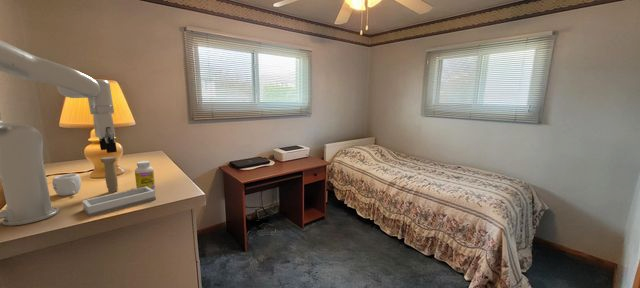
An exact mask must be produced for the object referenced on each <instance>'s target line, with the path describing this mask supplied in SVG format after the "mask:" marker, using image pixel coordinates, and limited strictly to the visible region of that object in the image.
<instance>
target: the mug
mask: <svg viewBox="0 0 640 288" xmlns="http://www.w3.org/2000/svg"><path fill="white" fill-rule="evenodd" d="M51 183H52V188H53V190H54V191H55V194H57V195H58V196H61V197H65V196H67V197H68V196H72V195H77V193H79V192H80V190H81V187H82V179H81V176H80V175H79V174H78V173H66V174H60V175H57V176H54V177H53V178H52V182H51Z"/></svg>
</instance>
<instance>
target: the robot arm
mask: <svg viewBox="0 0 640 288" xmlns="http://www.w3.org/2000/svg"><path fill="white" fill-rule="evenodd" d="M0 72H2V73H5V74H8V75H10V76H13V77H15V78H18V79H22V80H26V81H31V82H37V83H45V84H50V85H54V86H56V89H57V92H58V93H59V94H61V96H64V97H66V98H70V99H87V100H88V101H87V102H88V106H89V112H90V115H93V116H92V117H93V129H94V135H95V137H96V138H98V139H99V148H100V150H101V151H106V153H107V154H111V153H117V152H118V150H117V143H116V140H115V136H116V131H115V124H114V120H113V116H112V114H115V108H114V104H113V96H112V89H111V83H110V81H109V80H106V79H101V78H100V79H96V78H92V77H91V76H89V75H87V74H85V73H82V72H80V71H79V70H76V69H74V68H72V67H69V66H66V65H63V64H61V63H57V62H54V61H51V60H49V59H45V58H42V57H39V56H37V55H34V54H31V53H29V52H27V51H25V50H22V49H21V48H19V47H16V46H15V45H12V44H9V43H7V42H5V41H3V40H1V39H0ZM43 138H44V137H43V136H42V133H41V132H40V131H39V130H38V129H37V128H36V127H34V126H32V125H29V124H26V123H17V122H4V121H3V120H2V115H1V113H0V179H1V185H2V188H3V194H4V199H5V203H6V206H5V209H2V210H0V220H1V219H2V221H1V223H2V225H4V226H11V227H12V226H21V225H27V224H31V223H35V222H36V223H37V222H40V221H43V220H46V219H49V218H52V217H53V216H55V215H57V214H58V213H59V212H60V210H59V209H60V208H59V207H57V206H52V201H51V197H50V196H51V195H50V189H49V186H48V178H47V174H46V170H45V169H46V168H45V165H44V156H43V155H44V153H43V150H44V139H43Z"/></svg>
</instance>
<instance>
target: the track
mask: <svg viewBox="0 0 640 288" xmlns="http://www.w3.org/2000/svg"><path fill="white" fill-rule="evenodd" d="M156 199H157V198H156V191H155V189H154V190H152V189H151V188H149V187H147V186H145V187H141V188H137V187H136V188H132V189H129V190H124V191H120V192H118V191H117V192H113V193H111V194H110V193H109V194H106V195H101V196H96V197H93V198H88V199H83V200H81V201H82V209H83V212H85V214H87V216H88V217H95V216H98V215H102V214H106V213H110V212H113V211H117V210H121V209H125V208H127V207H132V206H135V205H136V206H137V205H139V204H144V203H148V202H150V201H151V202H152V201H154V200H156Z"/></svg>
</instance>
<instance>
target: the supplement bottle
mask: <svg viewBox="0 0 640 288" xmlns="http://www.w3.org/2000/svg"><path fill="white" fill-rule="evenodd" d="M150 161H151V160H140V161H138V162H136V166H137V168H135V169H134V176H135V185H136V188H141V187H145V186H147V187H149V188H151V189H152V190H154V191H155V190H156V184H155V175H154V174H155V172H154V168H153V167H152V166H150V165H151V162H150Z"/></svg>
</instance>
